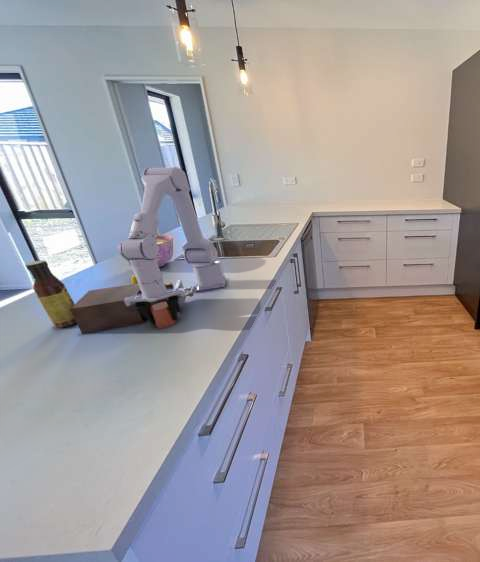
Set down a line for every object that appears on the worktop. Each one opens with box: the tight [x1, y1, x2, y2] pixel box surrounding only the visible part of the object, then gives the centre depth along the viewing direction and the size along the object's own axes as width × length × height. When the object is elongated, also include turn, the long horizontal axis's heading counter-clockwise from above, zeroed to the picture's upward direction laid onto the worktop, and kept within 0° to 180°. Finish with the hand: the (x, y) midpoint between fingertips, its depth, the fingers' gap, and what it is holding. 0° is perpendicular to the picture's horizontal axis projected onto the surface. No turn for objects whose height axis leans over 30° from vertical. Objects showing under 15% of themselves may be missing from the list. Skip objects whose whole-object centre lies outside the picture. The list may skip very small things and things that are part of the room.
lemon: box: [130, 273, 138, 284], centre depth 110 cm, size 6×6×8 cm
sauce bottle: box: [25, 259, 77, 329], centre depth 87 cm, size 6×6×20 cm
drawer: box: [140, 279, 197, 317], centre depth 97 cm, size 18×12×6 cm, turn 113°
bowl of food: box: [117, 234, 174, 268], centre depth 133 cm, size 20×20×12 cm
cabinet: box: [70, 283, 147, 335], centre depth 92 cm, size 15×13×8 cm
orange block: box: [150, 302, 177, 329], centre depth 89 cm, size 5×5×6 cm
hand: (165, 321), depth 90 cm, fingers closed on orange block, 5 cm apart
